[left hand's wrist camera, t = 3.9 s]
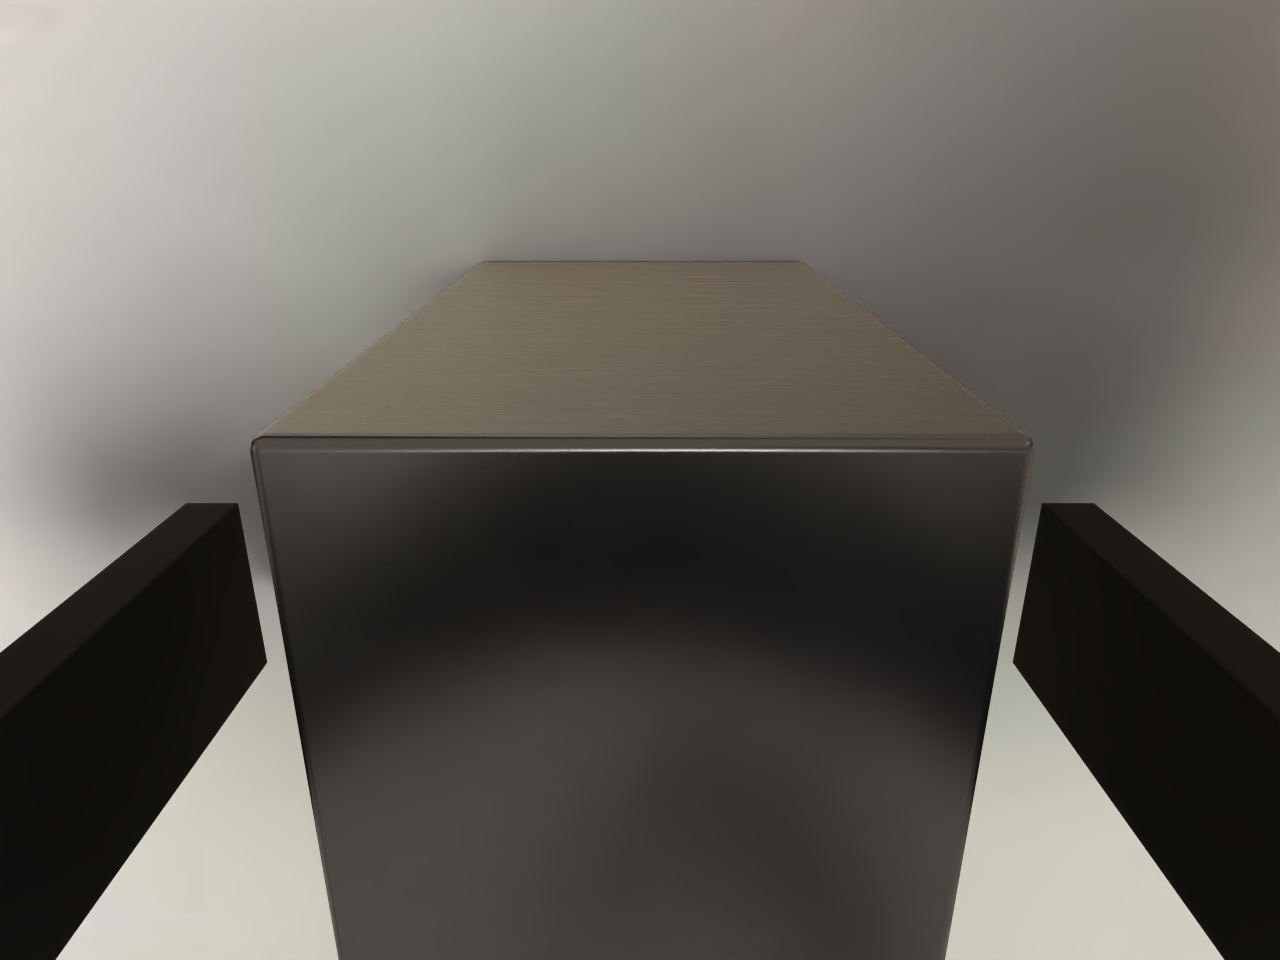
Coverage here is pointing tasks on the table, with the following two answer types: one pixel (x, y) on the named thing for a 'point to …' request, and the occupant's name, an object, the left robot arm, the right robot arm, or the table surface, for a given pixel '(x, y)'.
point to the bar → (642, 619)
